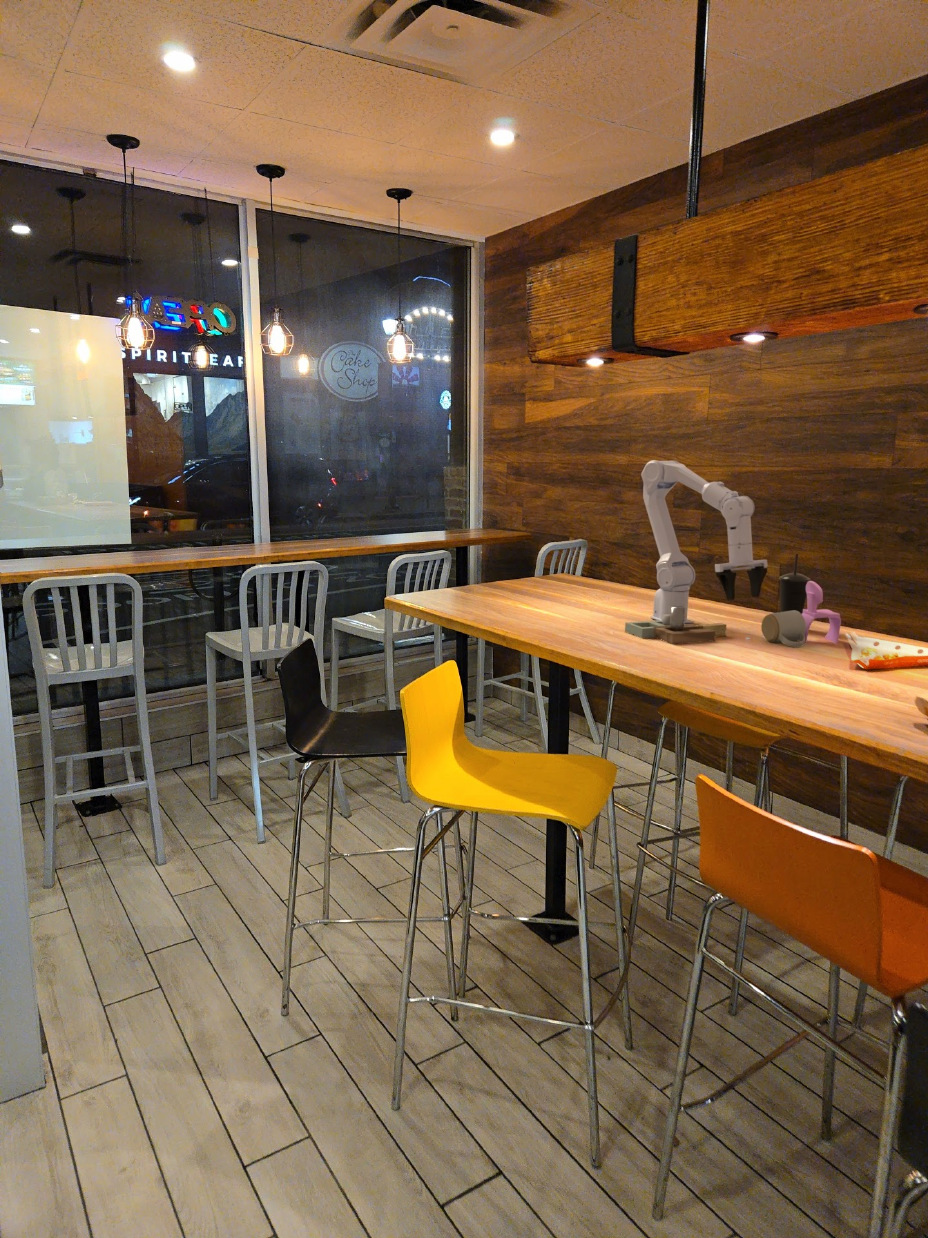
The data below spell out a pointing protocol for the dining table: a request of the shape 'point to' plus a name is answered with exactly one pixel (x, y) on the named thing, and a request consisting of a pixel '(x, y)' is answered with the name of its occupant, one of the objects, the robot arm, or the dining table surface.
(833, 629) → the toy chair
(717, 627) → the brown rectangular block
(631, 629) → the rack
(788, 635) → the ceramic mug
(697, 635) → the socket block
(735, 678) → the dining table surface
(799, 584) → the drinking cup
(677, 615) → the grey metal cylinder
